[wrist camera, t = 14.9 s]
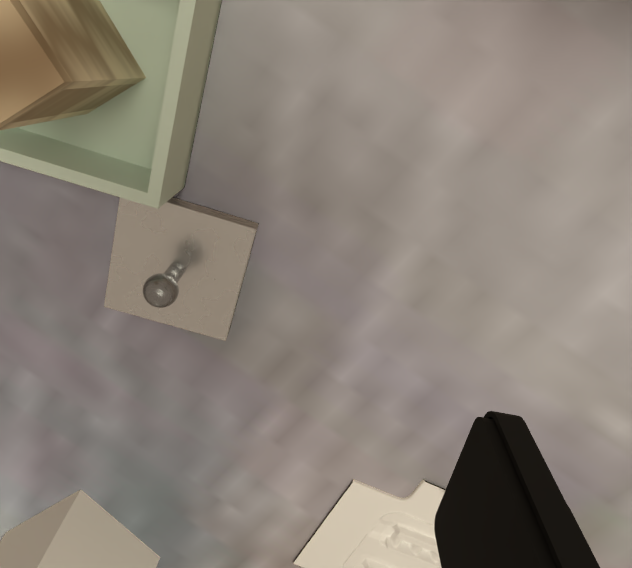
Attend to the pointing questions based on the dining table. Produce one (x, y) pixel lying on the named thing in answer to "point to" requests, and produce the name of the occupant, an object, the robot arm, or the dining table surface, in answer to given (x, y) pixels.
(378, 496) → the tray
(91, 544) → the milk
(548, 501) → the robot arm
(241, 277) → the stud plate
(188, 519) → the dining table surface
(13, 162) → the bin
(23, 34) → the strut
